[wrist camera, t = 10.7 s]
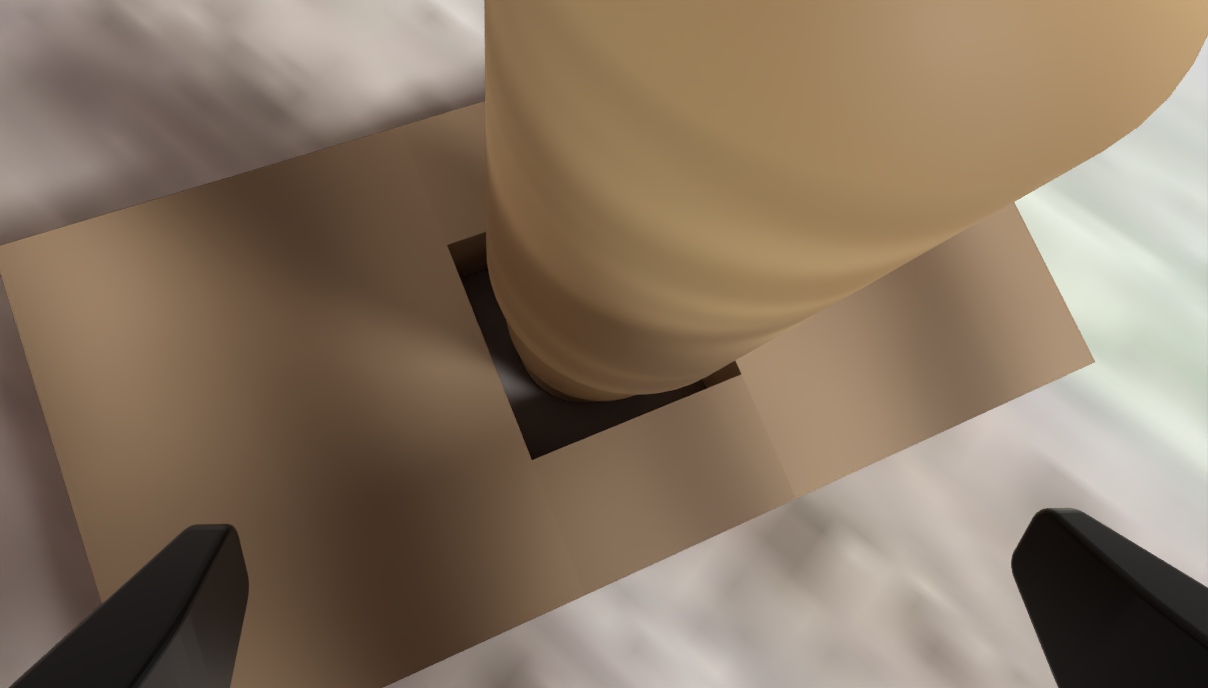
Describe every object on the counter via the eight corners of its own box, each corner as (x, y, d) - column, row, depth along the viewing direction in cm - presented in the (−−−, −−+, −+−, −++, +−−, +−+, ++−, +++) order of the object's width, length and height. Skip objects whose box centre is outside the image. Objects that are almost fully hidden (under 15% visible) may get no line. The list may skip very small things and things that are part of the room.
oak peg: (529, 462, 17) (686, 313, 4) (459, 285, 18) (361, -433, 4) (702, 391, 18) (1359, 57, 4) (631, 224, 19) (1016, -524, 5)
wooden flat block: (212, 743, 15) (158, 789, 13) (65, 285, 16) (-8, 247, 14) (1018, 379, 19) (1094, 362, 17) (851, 38, 21) (899, -23, 18)
